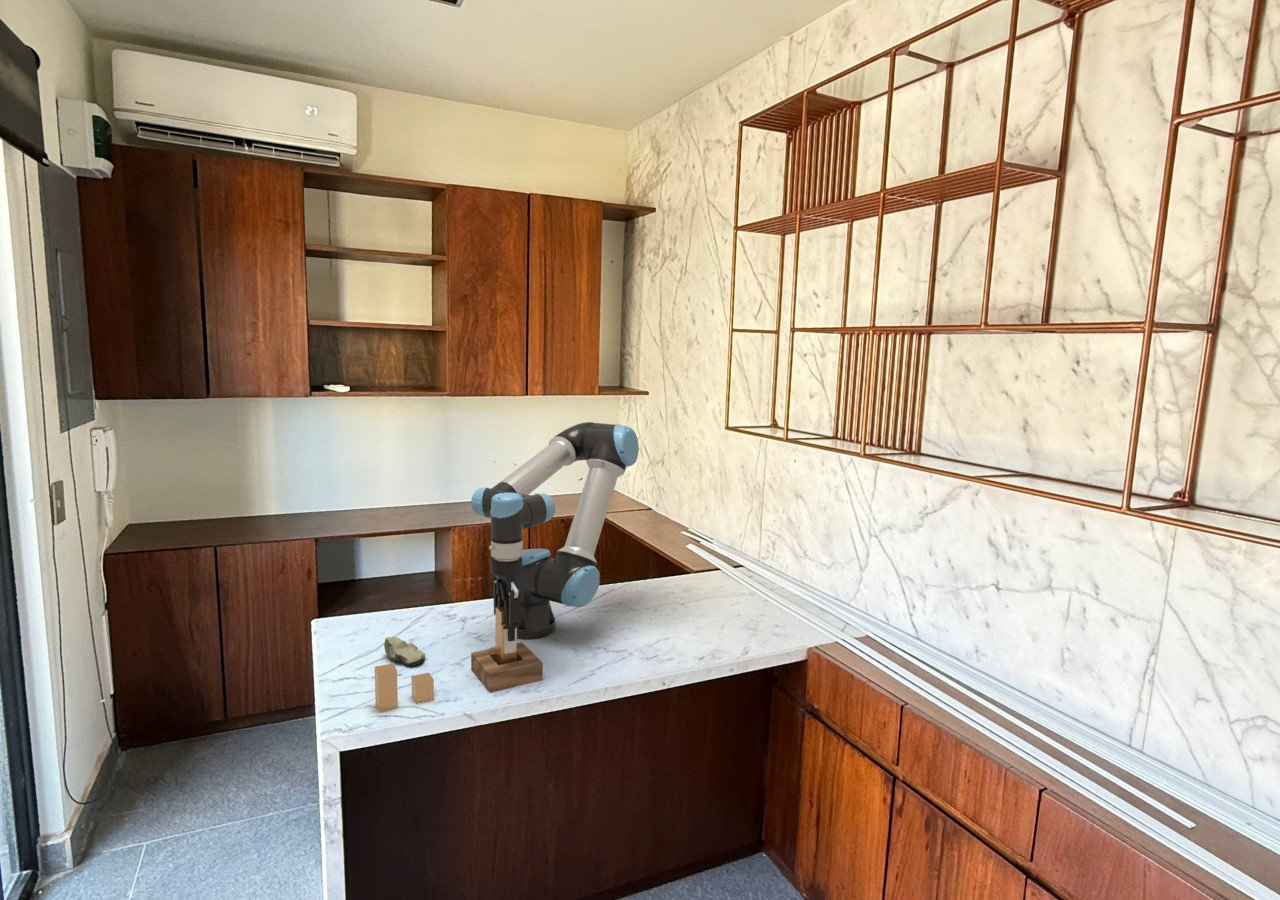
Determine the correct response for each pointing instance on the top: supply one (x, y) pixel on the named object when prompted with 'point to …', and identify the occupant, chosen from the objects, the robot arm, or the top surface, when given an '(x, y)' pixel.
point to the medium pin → (386, 687)
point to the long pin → (502, 639)
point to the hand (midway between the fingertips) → (506, 648)
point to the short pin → (422, 688)
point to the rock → (402, 651)
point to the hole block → (506, 669)
